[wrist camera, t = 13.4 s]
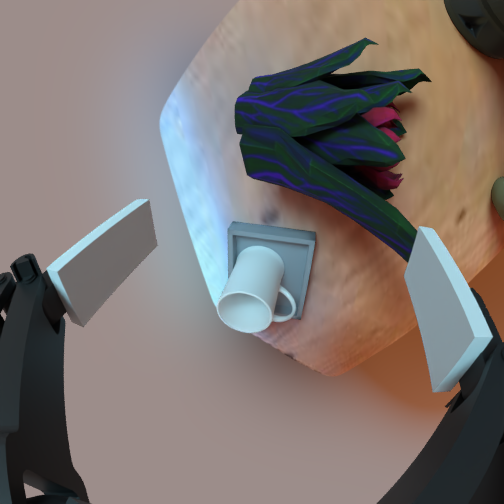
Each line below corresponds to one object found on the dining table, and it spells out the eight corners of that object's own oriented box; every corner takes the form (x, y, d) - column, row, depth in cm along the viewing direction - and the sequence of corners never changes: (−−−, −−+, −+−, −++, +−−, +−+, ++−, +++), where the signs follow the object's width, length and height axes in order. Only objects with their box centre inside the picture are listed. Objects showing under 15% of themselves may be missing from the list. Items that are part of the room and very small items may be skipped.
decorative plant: (298, 81, 39) (470, 129, 29) (256, 224, 44) (436, 287, 33) (251, 0, 20) (523, 65, 10) (173, 216, 25) (494, 332, 14)
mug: (310, 271, 46) (305, 320, 36) (283, 301, 51) (274, 351, 41) (249, 236, 45) (229, 279, 35) (228, 271, 50) (206, 316, 40)
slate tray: (315, 232, 43) (315, 241, 41) (301, 308, 52) (300, 319, 49) (232, 221, 45) (227, 229, 43) (233, 298, 54) (229, 307, 52)
